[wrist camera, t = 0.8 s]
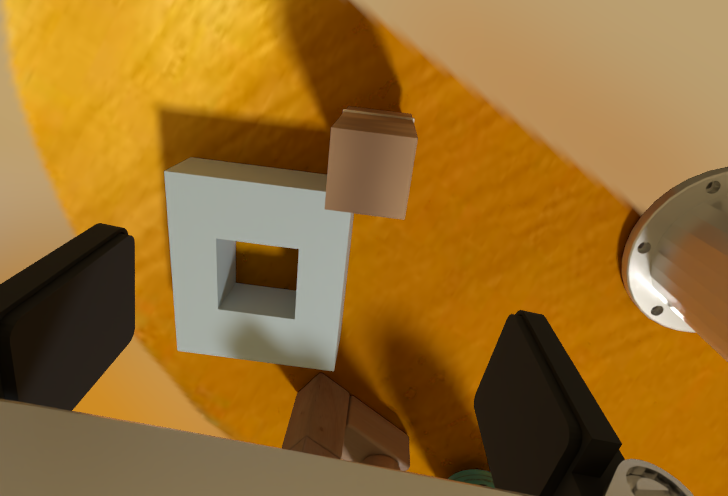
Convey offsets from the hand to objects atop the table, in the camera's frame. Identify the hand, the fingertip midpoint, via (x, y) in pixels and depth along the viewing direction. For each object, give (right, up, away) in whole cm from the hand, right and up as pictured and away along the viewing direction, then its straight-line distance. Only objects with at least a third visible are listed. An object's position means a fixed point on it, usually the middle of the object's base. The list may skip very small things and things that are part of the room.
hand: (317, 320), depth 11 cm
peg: (+2, +9, +19) cm, 21 cm away
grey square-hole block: (-6, +1, +23) cm, 24 cm away
